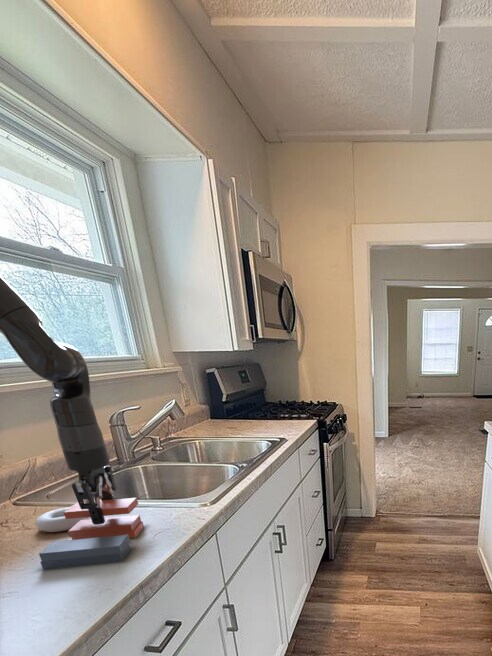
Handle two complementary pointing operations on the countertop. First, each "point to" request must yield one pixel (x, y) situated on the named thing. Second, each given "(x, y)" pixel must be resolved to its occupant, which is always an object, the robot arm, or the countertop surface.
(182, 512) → the countertop surface
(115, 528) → the orange-red flat block
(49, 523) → the donut
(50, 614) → the countertop surface
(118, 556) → the grey rectangular block
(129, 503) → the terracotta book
